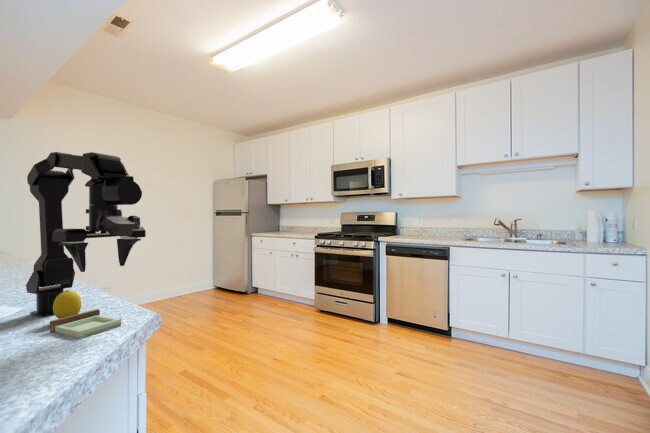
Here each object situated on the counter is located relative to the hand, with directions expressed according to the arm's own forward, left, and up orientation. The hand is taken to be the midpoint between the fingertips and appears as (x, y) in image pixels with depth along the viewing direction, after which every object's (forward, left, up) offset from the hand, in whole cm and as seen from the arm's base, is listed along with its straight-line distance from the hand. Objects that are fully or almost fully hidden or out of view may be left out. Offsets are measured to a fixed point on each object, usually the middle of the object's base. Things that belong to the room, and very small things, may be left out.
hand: (103, 268), depth 77 cm
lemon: (-11, -2, -14) cm, 17 cm away
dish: (+1, -4, -14) cm, 14 cm away
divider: (-5, -3, -14) cm, 15 cm away
